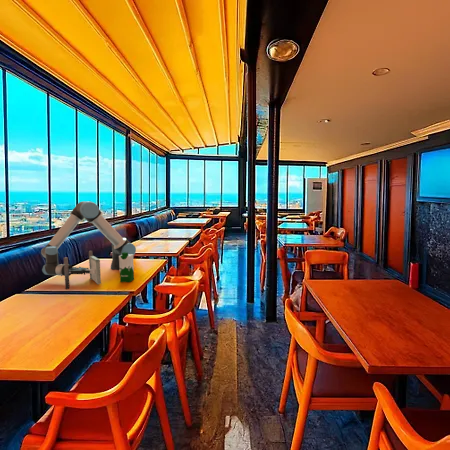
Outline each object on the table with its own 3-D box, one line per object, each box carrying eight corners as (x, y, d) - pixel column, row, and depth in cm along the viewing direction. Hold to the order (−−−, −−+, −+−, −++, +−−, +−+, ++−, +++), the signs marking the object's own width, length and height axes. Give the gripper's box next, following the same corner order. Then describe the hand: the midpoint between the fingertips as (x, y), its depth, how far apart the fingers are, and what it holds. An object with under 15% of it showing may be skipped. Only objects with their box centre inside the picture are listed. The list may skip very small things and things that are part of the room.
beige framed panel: (90, 278, 237) (89, 255, 235) (94, 277, 238) (93, 255, 236) (97, 284, 221) (96, 260, 219) (101, 283, 222) (99, 259, 220)
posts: (91, 278, 241) (90, 250, 239) (94, 278, 240) (93, 250, 238) (64, 289, 214) (62, 258, 212) (67, 289, 213) (66, 258, 212)
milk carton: (118, 282, 228) (117, 253, 227) (123, 279, 237) (122, 251, 236) (131, 282, 228) (129, 253, 226) (135, 279, 237) (134, 251, 235)
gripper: (71, 273, 235) (101, 274, 229) (58, 277, 222) (89, 279, 216) (71, 262, 234) (100, 264, 228) (57, 266, 222) (88, 268, 216)
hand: (95, 271), depth 222 cm, fingers closed
